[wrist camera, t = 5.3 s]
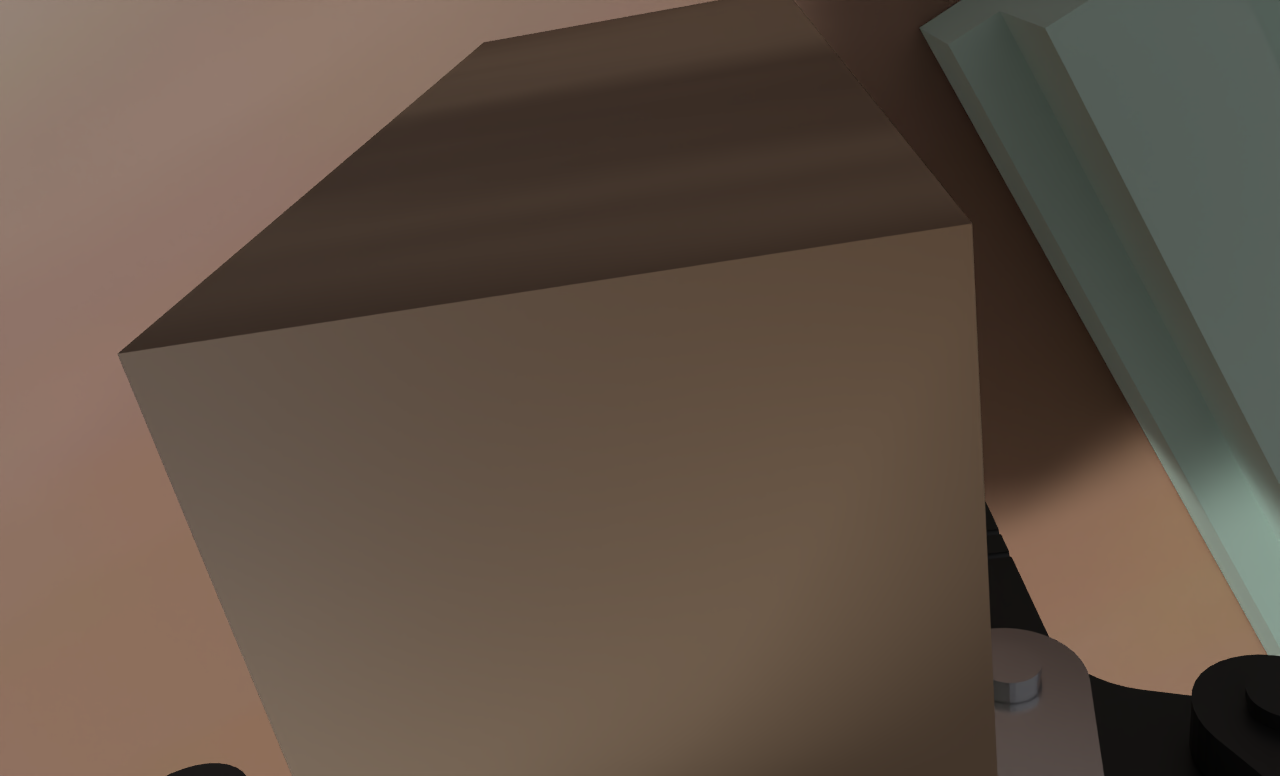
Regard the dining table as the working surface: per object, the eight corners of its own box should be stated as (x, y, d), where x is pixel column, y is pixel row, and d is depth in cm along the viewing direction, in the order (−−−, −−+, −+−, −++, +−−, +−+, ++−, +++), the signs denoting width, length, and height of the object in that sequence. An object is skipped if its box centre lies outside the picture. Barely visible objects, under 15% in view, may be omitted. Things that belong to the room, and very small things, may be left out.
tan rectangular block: (483, 41, 13) (116, 354, 5) (785, -12, 12) (973, 225, 4) (655, 797, 18) (627, 1587, 10) (872, 776, 17) (1035, 1580, 9)
